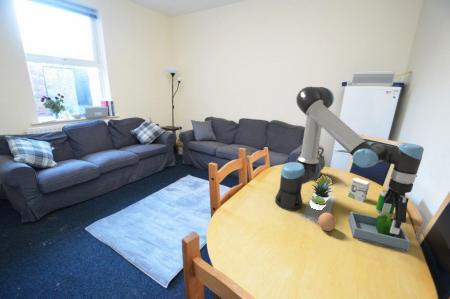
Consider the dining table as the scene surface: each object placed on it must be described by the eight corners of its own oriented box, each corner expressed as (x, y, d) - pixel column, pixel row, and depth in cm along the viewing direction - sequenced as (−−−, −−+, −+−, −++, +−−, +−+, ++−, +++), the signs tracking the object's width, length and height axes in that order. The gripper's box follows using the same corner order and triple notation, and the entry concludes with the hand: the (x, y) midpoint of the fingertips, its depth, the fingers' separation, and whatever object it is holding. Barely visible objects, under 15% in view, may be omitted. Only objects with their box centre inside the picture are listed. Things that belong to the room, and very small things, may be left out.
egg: (336, 235, 94) (339, 219, 92) (319, 233, 96) (322, 217, 93) (331, 225, 101) (334, 210, 99) (315, 223, 102) (318, 208, 100)
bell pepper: (398, 243, 90) (405, 223, 87) (376, 237, 93) (381, 217, 90) (392, 231, 97) (398, 212, 94) (372, 226, 100) (376, 208, 97)
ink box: (347, 196, 130) (351, 179, 126) (350, 194, 133) (354, 177, 129) (363, 202, 123) (367, 184, 120) (366, 199, 126) (370, 182, 123)
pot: (320, 182, 148) (325, 149, 141) (291, 175, 159) (295, 143, 152) (324, 173, 165) (330, 143, 158) (298, 167, 175) (302, 138, 168)
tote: (352, 237, 93) (355, 228, 92) (348, 219, 106) (350, 211, 105) (407, 251, 86) (410, 242, 85) (395, 230, 99) (398, 222, 97)
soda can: (395, 217, 109) (401, 197, 106) (379, 215, 111) (384, 195, 107) (387, 209, 116) (393, 190, 113) (372, 208, 118) (377, 188, 114)
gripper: (427, 195, 74) (410, 244, 80) (402, 171, 96) (390, 211, 102) (401, 191, 77) (387, 239, 83) (382, 168, 99) (372, 207, 105)
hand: (388, 224), depth 93 cm, fingers open, 13 cm apart
